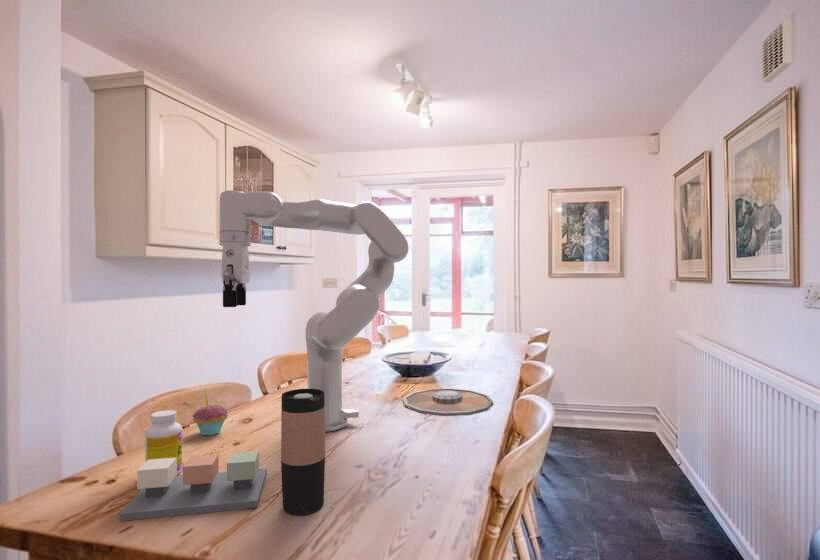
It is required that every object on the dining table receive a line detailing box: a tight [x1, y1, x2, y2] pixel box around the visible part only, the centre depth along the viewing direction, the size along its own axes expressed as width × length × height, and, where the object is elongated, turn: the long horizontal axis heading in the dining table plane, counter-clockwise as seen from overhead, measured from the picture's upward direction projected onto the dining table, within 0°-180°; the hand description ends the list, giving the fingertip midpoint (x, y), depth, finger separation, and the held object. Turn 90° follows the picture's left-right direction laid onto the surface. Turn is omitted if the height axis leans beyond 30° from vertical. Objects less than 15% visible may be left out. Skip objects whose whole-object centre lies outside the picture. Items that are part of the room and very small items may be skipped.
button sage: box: [226, 451, 260, 481], centre depth 85 cm, size 5×5×3 cm
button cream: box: [136, 457, 178, 490], centre depth 82 cm, size 5×5×3 cm
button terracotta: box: [182, 453, 220, 485], centre depth 83 cm, size 5×5×3 cm
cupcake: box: [192, 389, 229, 436], centre depth 118 cm, size 9×8×12 cm
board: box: [119, 467, 268, 522], centre depth 83 cm, size 22×14×3 cm, turn 101°
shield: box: [402, 388, 494, 416], centre depth 147 cm, size 30×3×30 cm
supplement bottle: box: [144, 409, 183, 476], centre depth 92 cm, size 7×7×13 cm
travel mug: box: [280, 388, 326, 517], centre depth 79 cm, size 8×8×20 cm
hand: (234, 306), depth 114 cm, fingers open, 9 cm apart
